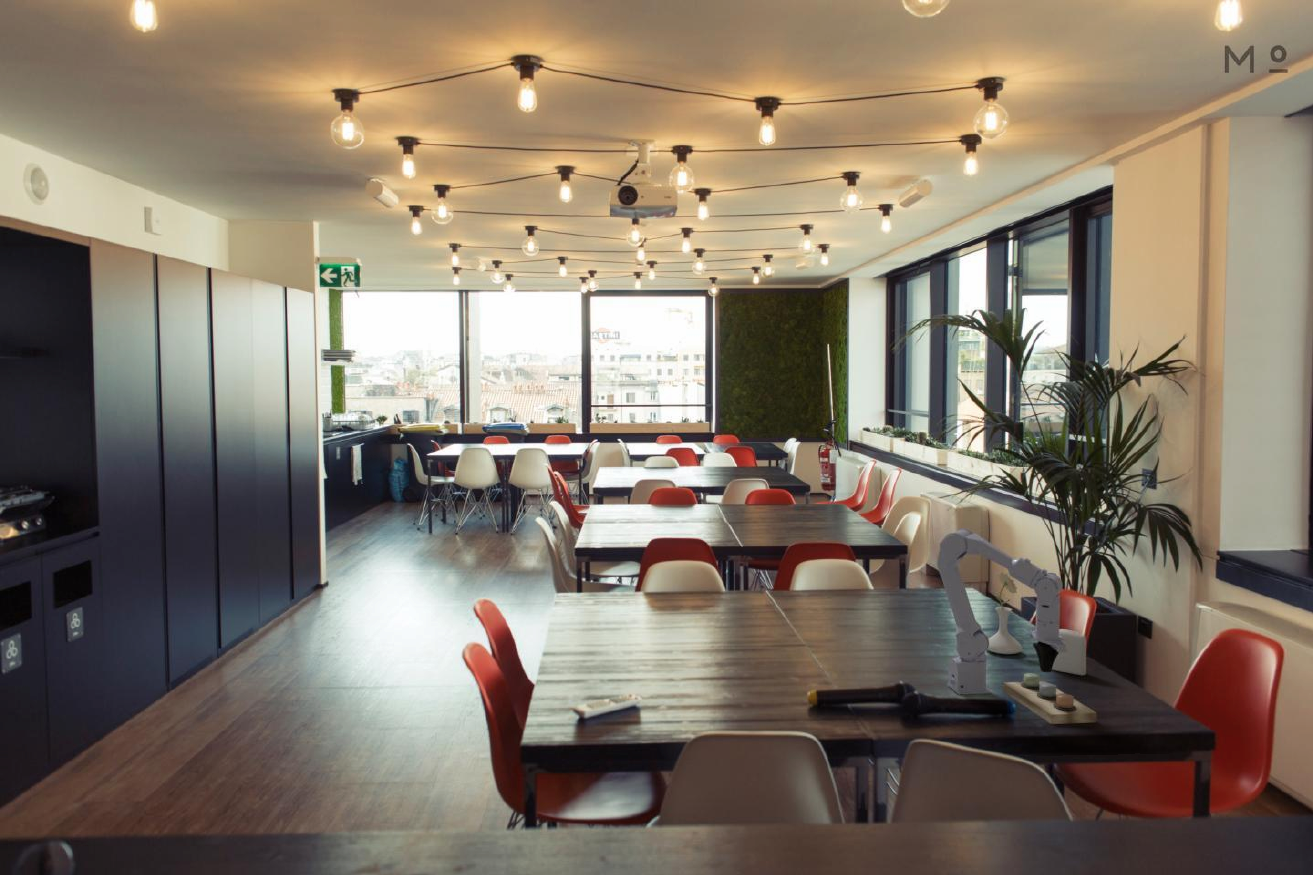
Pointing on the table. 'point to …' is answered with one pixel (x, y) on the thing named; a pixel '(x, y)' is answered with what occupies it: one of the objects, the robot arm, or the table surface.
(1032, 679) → the button sage
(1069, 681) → the table surface
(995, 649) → the flower in vase
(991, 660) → the table surface
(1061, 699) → the button terracotta
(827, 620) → the table surface
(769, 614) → the table surface
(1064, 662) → the photo printer
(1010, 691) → the button panel
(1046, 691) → the button slate
